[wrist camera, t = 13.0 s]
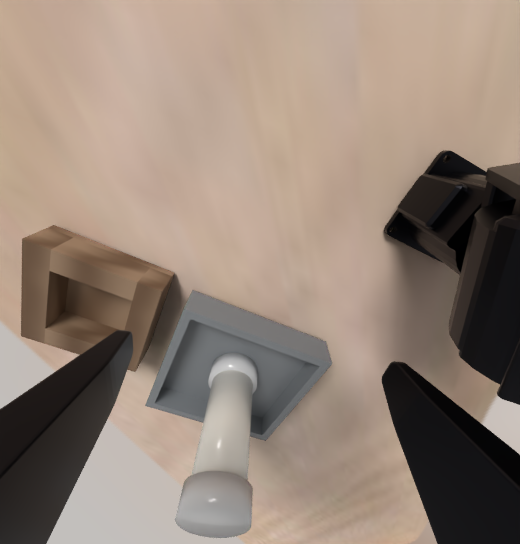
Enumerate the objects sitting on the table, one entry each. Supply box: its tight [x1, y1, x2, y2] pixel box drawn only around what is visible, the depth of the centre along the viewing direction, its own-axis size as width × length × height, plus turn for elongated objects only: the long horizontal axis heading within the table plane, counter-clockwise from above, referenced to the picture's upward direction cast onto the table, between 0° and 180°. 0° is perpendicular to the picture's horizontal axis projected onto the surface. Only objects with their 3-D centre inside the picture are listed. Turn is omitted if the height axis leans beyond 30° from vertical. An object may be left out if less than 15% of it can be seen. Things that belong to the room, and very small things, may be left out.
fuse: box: [175, 353, 258, 538], centre depth 21 cm, size 5×5×12 cm
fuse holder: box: [21, 225, 174, 372], centre depth 22 cm, size 10×10×3 cm
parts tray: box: [145, 290, 332, 441], centre depth 26 cm, size 14×14×3 cm
